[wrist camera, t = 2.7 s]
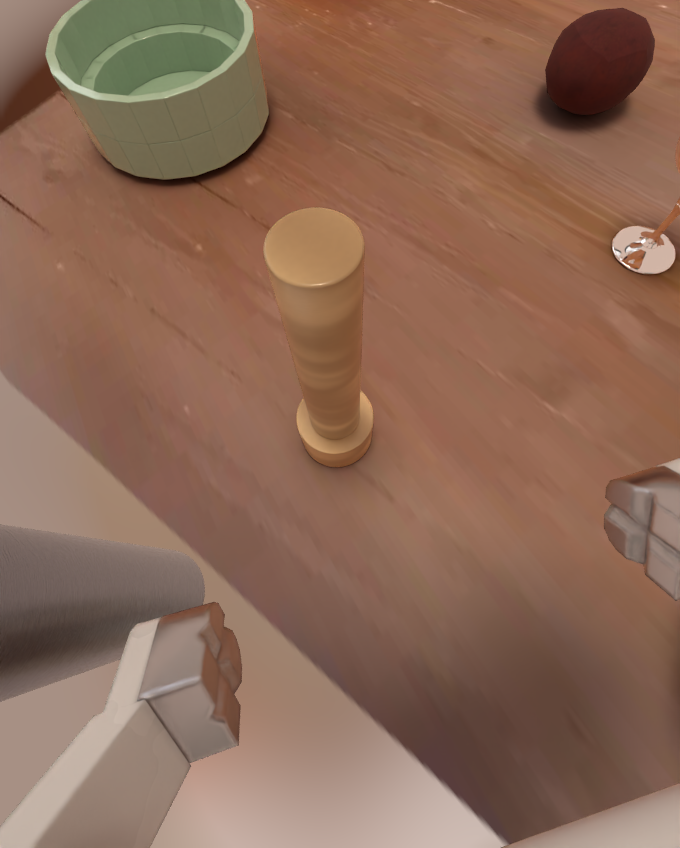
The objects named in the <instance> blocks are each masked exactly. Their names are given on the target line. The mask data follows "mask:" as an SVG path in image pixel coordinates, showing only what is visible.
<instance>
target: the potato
mask: <svg viewBox="0 0 680 848" xmlns="http://www.w3.org/2000/svg"><path fill="white" fill-rule="evenodd" d="M654 47H655V39H654V36H653V34H652V31H651V28H650V26H649V24H648V22H647V20H646V18H644V17H642V16H640V15H638V14H636V13H634V12H632V11H629V10H627V9H624V8H617V9H606V10H597V11H594V12H591V13H588V14H585V15H583V16H582V17H580V18H579V19H577V20H576V21H574V22H573V23H571V24H570V25H569V26H568V27H567V28H565V29H564V30H563V31H562V33H561V34H560V36H559V38H558V39H557V41H556V43H555V45H554V47H553V50H552V52H551V55H550V57H549V60H548V63H547V66H546V69H545V71H546V82H547V92H548V94H549V96H550V97H551V99H552V100H553V101H554V102H555V103H556V104H557V106H558V107H560V108H563V109H565V110H567V111H569V112H571V113H574V114H580V115H590V114H596V113H601V112H603V111H606V110H608V109H610V108H612V107H613V106H615V105H617V104H618V103H620V102H621V101H623V100H624V99H625V98H626V97H627V96H628V95H629V94H630V93H631V92H632V91H634V90H635V89H636V87H637V86H638V85H639V83H640V82H641V81H642V80H643V78H644V76H645V75H646V73H647V71H648V69H649V67H650V65H651V63H652V60H653V53H654Z"/></svg>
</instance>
